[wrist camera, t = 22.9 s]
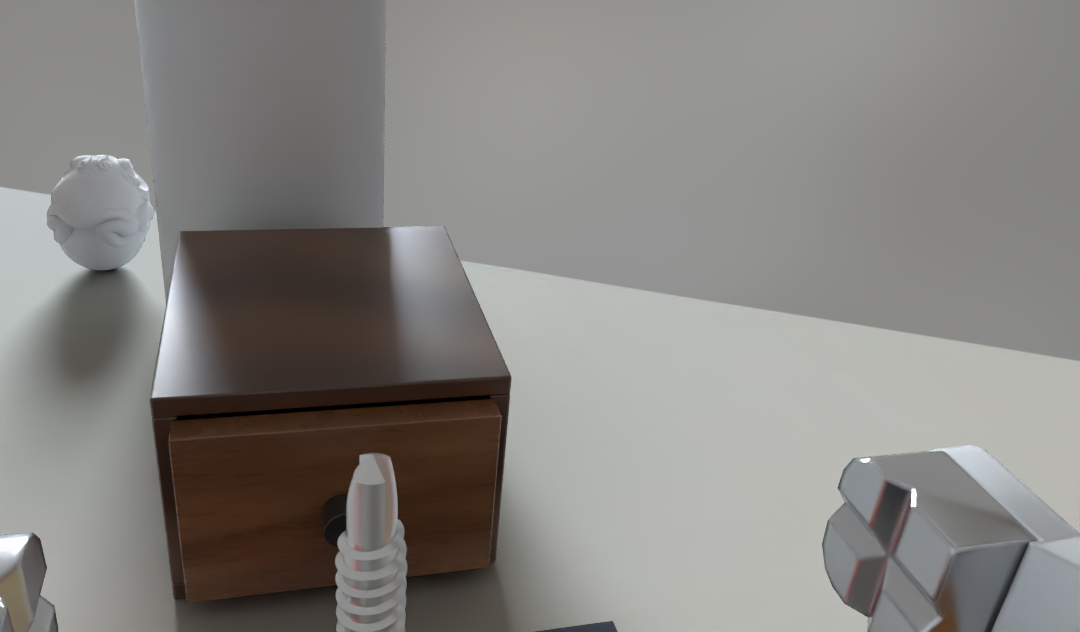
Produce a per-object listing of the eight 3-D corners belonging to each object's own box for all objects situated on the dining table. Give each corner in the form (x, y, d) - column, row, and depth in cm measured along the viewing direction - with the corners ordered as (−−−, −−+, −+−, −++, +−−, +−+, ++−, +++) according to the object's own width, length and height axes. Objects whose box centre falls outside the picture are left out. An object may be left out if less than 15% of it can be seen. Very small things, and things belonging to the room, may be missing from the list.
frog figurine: (173, 246, 64) (164, 146, 60) (136, 292, 57) (123, 183, 54) (81, 239, 63) (66, 139, 60) (34, 285, 57) (14, 175, 54)
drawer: (495, 589, 37) (509, 434, 33) (184, 628, 34) (164, 461, 30) (434, 388, 49) (440, 261, 46) (203, 403, 46) (191, 268, 43)
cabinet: (495, 562, 39) (512, 376, 35) (173, 600, 36) (149, 399, 32) (438, 379, 52) (445, 225, 47) (194, 394, 48) (178, 230, 44)
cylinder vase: (230, 384, 49) (192, -145, 38) (132, 294, 57) (75, -168, 46) (422, 321, 57) (439, -131, 46) (313, 250, 65) (303, -152, 54)
